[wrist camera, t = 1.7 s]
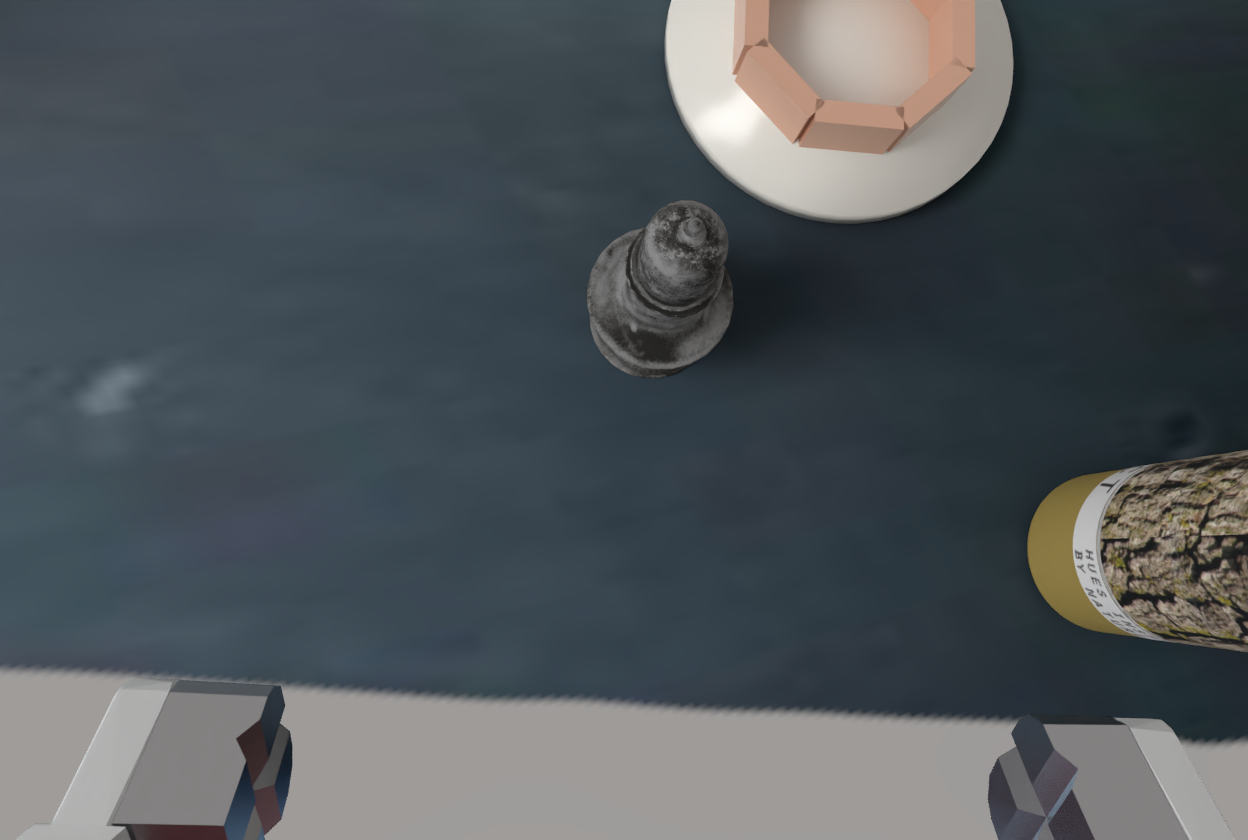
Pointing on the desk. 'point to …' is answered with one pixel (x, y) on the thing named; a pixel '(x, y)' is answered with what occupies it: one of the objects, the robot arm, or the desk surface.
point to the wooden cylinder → (1150, 551)
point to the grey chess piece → (662, 292)
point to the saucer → (840, 97)
